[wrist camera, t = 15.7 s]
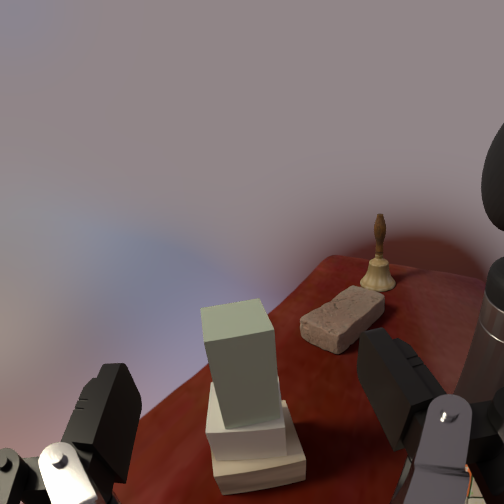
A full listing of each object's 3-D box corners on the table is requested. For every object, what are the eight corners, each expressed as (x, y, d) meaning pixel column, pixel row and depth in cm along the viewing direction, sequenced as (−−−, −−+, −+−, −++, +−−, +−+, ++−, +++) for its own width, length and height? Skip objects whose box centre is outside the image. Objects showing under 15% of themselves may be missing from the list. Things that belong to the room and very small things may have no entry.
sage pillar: (218, 392, 29) (200, 308, 26) (267, 383, 30) (259, 298, 26) (225, 429, 24) (203, 342, 21) (280, 418, 25) (274, 329, 22)
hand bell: (356, 277, 71) (356, 211, 66) (388, 274, 70) (391, 209, 65) (365, 294, 63) (367, 221, 58) (400, 289, 63) (405, 218, 57)
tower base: (216, 437, 34) (208, 413, 32) (286, 425, 35) (284, 399, 33) (223, 495, 26) (213, 476, 24) (305, 480, 27) (306, 459, 25)
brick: (350, 301, 62) (351, 281, 60) (386, 313, 56) (388, 291, 54) (298, 341, 52) (297, 318, 50) (338, 359, 46) (339, 336, 44)
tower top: (219, 412, 32) (211, 382, 31) (280, 407, 32) (278, 376, 31) (216, 460, 26) (205, 433, 24) (286, 455, 26) (285, 427, 24)
